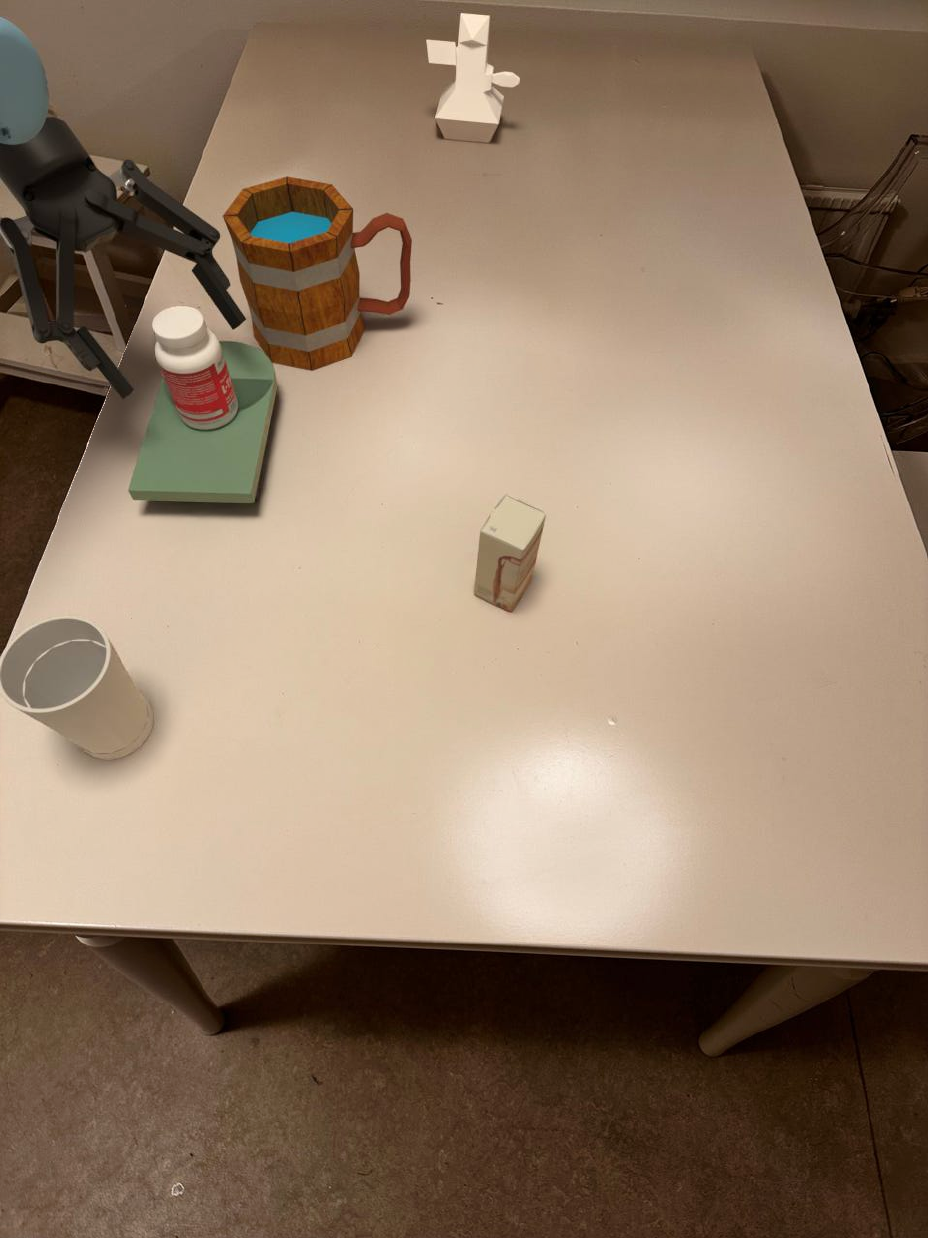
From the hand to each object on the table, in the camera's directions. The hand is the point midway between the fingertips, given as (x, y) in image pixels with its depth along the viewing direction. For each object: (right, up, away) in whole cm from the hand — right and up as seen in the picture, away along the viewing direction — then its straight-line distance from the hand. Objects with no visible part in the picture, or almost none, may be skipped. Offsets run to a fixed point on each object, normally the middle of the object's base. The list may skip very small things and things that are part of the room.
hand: (186, 358), depth 73 cm
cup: (-3, -35, -8) cm, 36 cm away
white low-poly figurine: (+28, +50, +42) cm, 72 cm away
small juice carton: (+31, -22, 0) cm, 38 cm away
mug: (+11, +10, +18) cm, 24 cm away
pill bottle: (0, -4, +5) cm, 6 cm away
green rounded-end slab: (0, -6, +9) cm, 10 cm away
